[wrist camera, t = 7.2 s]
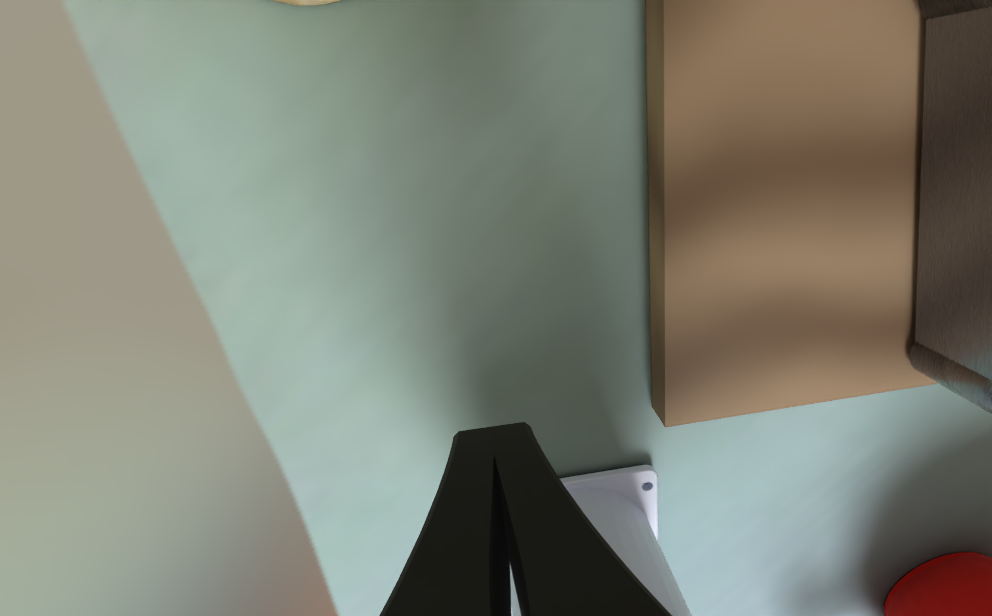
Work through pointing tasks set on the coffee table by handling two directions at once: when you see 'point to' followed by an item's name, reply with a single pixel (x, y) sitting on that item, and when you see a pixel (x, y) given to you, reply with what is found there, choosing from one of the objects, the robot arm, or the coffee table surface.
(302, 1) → the hand bell
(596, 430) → the coffee table surface
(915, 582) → the ceramic cup
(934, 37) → the lever
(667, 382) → the press base
